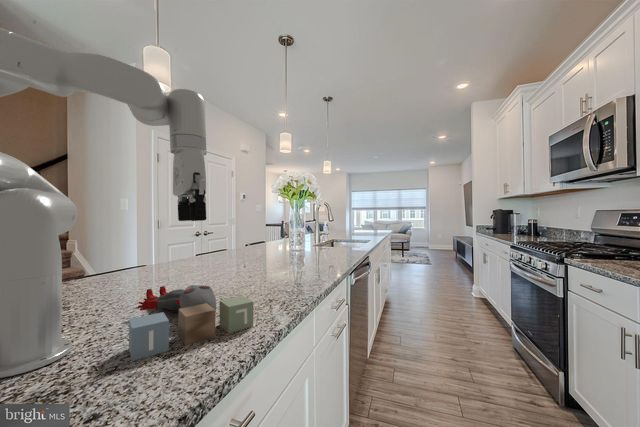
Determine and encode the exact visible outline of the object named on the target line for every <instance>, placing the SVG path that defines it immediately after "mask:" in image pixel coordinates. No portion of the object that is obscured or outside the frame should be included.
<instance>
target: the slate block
mask: <svg viewBox="0 0 640 427" xmlns="http://www.w3.org/2000/svg"><path fill="white" fill-rule="evenodd" d="M128 351H129V354H130V355H129V356H130V360H131V362H133V361H137V360H140V359H144V358H147V357H151V356H154V355H157V354H162V353H165V352H168V351H170V320H169V318H168V317H167V316H166V313H165V312H164V311H163V312H157V313H152V314H148V315H141V316H137V317H133V318H128Z"/></svg>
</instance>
